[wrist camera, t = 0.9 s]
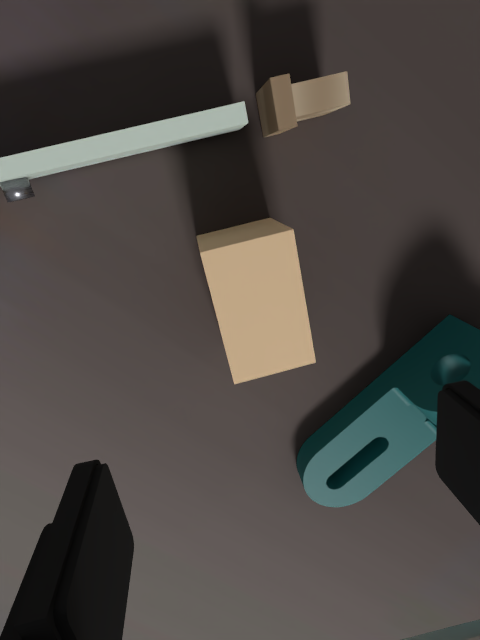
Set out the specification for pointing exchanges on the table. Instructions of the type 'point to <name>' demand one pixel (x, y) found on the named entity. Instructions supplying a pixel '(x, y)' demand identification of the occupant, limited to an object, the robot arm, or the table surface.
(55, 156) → the sage gate
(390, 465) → the bracket
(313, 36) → the table surface
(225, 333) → the block
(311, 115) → the oak fence
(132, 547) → the robot arm
